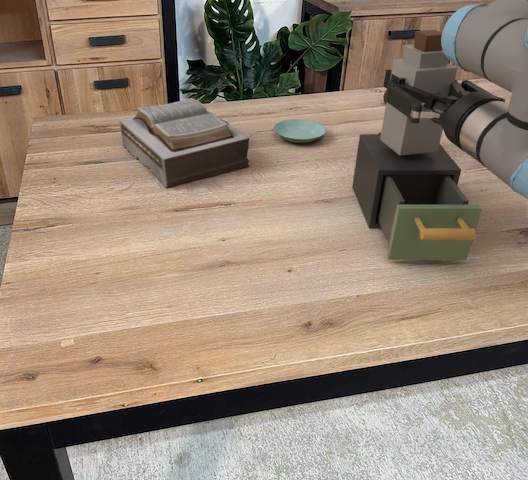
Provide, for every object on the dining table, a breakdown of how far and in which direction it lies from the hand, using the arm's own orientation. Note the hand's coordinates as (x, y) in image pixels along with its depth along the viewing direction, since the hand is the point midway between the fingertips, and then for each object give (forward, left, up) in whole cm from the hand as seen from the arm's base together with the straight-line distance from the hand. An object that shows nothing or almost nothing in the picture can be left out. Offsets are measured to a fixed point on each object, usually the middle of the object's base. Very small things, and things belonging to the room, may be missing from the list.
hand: (405, 76), depth 88 cm
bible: (+39, -17, -22) cm, 48 cm away
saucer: (+13, -27, -22) cm, 37 cm away
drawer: (-1, +19, -21) cm, 28 cm away
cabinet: (-1, +5, -22) cm, 22 cm away
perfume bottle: (-1, +5, -10) cm, 11 cm away
